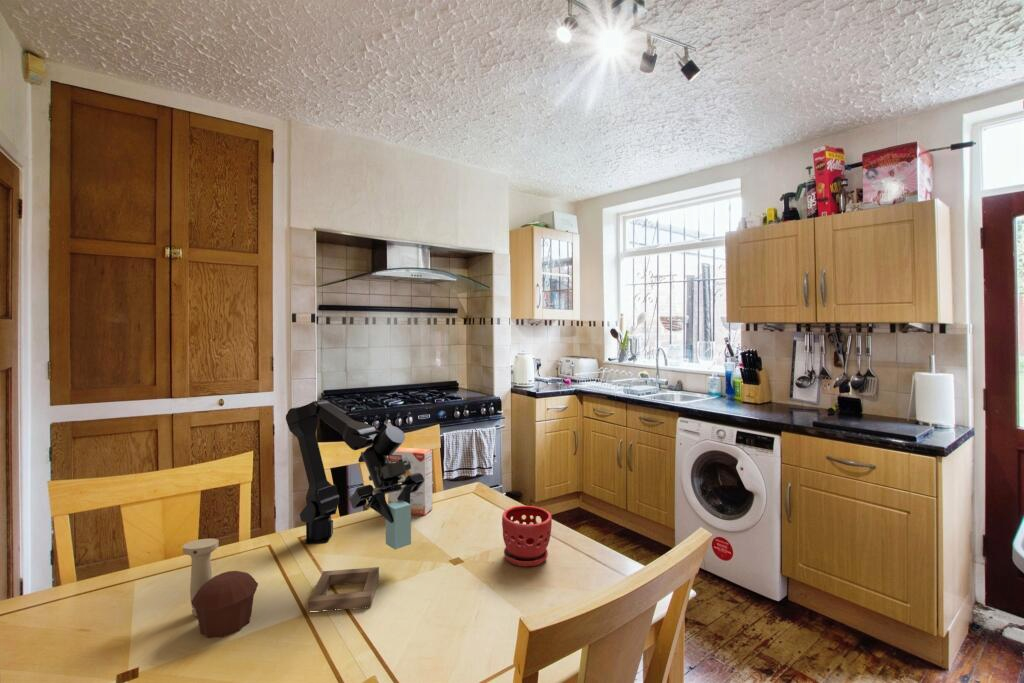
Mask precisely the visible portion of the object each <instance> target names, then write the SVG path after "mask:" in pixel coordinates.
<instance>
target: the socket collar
mask: <svg viewBox="0 0 1024 683" xmlns="http://www.w3.org/2000/svg"><path fill="white" fill-rule="evenodd" d="M379 578H380V567H379V566H375V567H362V568H361V567H360V568H349V569H337V570H336V569H335V570H324V571H322V573H321V575H320V577H319V579H318V581H317V583H316V585H315V587H314V589H313V590H312V592H311V594H310V596H309V598H308V600H307V613H308V612H310V611H323V610H335V609H336V610H337V609H349V610H354V609H353V608H360V609H369V607H372V605H373V600H374V597H375V593H376V590H377V586H378V582H379ZM359 582H364V583H365V584H364V587H363V590H362V591H359V592H358V591H357V592H347V593H335V594H333V593H332V594H327V593H328V591H327V590H329V589H330V587H331V586H334V585H333V584H340V585H346V584H345V583H352V584H360V583H359ZM329 586H330V587H329ZM328 588H329V589H328ZM326 592H327V593H326ZM365 607H366V608H365ZM367 607H368V608H367Z"/></svg>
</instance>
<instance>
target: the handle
mask: <svg viewBox="0 0 1024 683" xmlns="http://www.w3.org/2000/svg"><path fill="white" fill-rule="evenodd" d="M219 542H220V541H219V539H218V538H202V539H201V538H200V539H196V540H190V541H188V542H187V543H185V544H183V545H182V553H183V554H184V555H187V556H190V558H191V570H190V571H191V572H190V585H189V589H190V591H189V592H190V593H189V596H190V597H189V598H190V604H191V609H192V610H191V613H192V616H193V617H196V618H197V614H196V609H195V608H194V606H193V605H192V603H191V601H192V600H193V598H194V596H195V595H196V593H197V592H198V590H199V589H200V588H201V586H202V585H203V584H205V583H206V582H207V581H209V580H210V579H212V578H213V575H212V563H211V562H212V560H211V554H212V553H213V552H214V551H215V550H217V548H218V547H219V545H220V544H219Z"/></svg>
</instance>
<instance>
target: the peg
mask: <svg viewBox="0 0 1024 683" xmlns="http://www.w3.org/2000/svg"><path fill="white" fill-rule="evenodd" d="M387 505H388V507H389V509H390V511H391V514H392V516H393V520H394V521H393V523H390V522H389V521H388V520H387V519H385V545H387V546H388V547H390V548H391V549H393V550H395V551H396V550H399V549H401V548H403V547H407V546H410V545H412V514H411V504H409V503H407V502H405V501H403V500H399V501H396V502H392V503H389V504H388V503H387Z"/></svg>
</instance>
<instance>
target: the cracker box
mask: <svg viewBox="0 0 1024 683" xmlns="http://www.w3.org/2000/svg"><path fill="white" fill-rule="evenodd" d="M406 457H407V458H408V459H409V461H410V464H411V469H409V470H407V471H406V472H407V473H406V474H402V475H401V479H400V480H398V483H399V482H403V481H405V479H406V478H407V476H408V475H412V474H416V473H420V474H422V475H423V477H424V479H425V481H424V482H423V484H422V485H421V487H420V488H419V489H418V491H416V492H413V493H410V504H411V513H413V514H412V515H417V514H421V515H420V516H426V515H427V514H429V513H430V512H431V511H432V510H433V449H427V448H414V447H401V446H399V447H398V449H397V450H396V451H395V452H394V453H393V454H392V455H390V456H387V458H388V460H389V462H393V463H396V462H399V460H400V459H402V458H406ZM398 496H399V493H398V491H395V492H391V493H387V498H388V500H387V504H389V503H392V502H396V501H398V499H397V498H398ZM430 510H431V511H430ZM429 511H430V512H429Z"/></svg>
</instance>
